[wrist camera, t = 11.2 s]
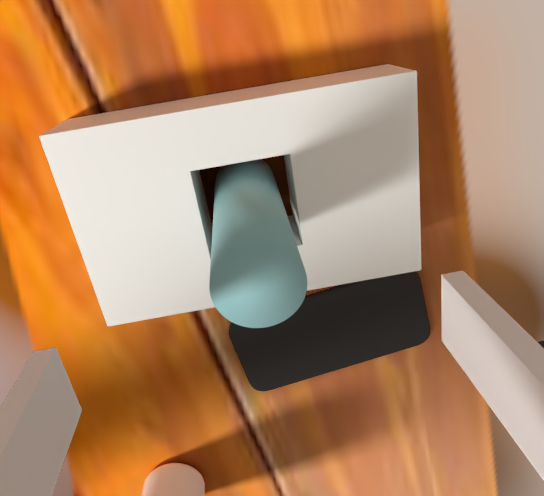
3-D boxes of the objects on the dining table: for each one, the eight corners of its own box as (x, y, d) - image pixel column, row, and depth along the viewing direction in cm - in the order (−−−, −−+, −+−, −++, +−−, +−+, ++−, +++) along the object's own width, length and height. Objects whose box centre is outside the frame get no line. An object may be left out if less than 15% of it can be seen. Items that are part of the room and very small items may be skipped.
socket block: (122, 287, 35) (107, 326, 30) (67, 119, 30) (39, 136, 25) (395, 238, 35) (421, 270, 30) (387, 63, 30) (416, 70, 25)
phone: (224, 324, 36) (417, 263, 36) (224, 318, 37) (413, 258, 36) (255, 395, 39) (432, 341, 39) (254, 388, 40) (428, 335, 39)
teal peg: (221, 216, 33) (219, 335, 20) (209, 160, 31) (199, 251, 19) (278, 206, 33) (312, 319, 21) (270, 150, 31) (300, 233, 19)
